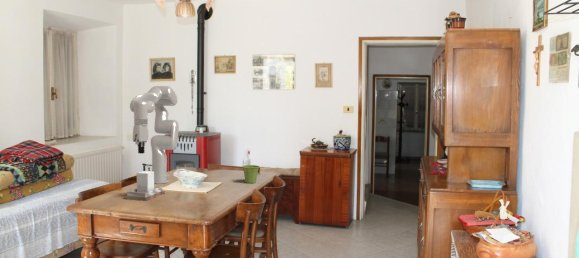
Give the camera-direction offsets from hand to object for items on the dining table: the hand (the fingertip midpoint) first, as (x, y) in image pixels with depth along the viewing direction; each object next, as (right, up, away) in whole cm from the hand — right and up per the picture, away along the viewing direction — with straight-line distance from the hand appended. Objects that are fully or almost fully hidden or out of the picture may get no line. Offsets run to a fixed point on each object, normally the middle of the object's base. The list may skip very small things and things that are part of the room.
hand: (141, 153), depth 277 cm
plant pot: (+61, -23, +44) cm, 79 cm away
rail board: (+3, -25, -3) cm, 25 cm away
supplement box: (+3, -24, -2) cm, 24 cm away
